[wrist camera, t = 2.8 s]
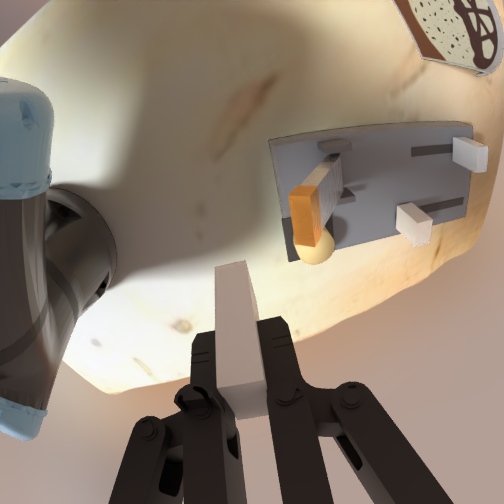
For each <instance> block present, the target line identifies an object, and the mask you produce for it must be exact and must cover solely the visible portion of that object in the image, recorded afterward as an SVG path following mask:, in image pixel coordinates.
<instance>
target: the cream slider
mask: <svg viewBox="0 0 504 504" xmlns="http://www.w3.org/2000/svg"><path fill="white" fill-rule="evenodd" d="M432 222H433V219H432V218H431V217H429V216H428V215H427V214H426V213H424V212H423V211H422V210H421V209H419V208H418V207H417V206H416V205H414V204H413V203H407V204H402V205H397V218H396V229H397V230H398V231H399V232H400V233H401V234H402V235H403V236H404V237H405V238H406V239H407V240H408V241H409V242H410V243H411V244H412V245H413V246H414V247H418V246H422V245H425V244H428V243H430V236H431V229H432Z"/></svg>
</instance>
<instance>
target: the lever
mask: <svg viewBox="0 0 504 504" xmlns="http://www.w3.org/2000/svg"><path fill="white" fill-rule="evenodd" d="M343 191H344V188H343V175H342V163H341V153H340V152H339V153H333V154H329V155H326V157H325V158H324V159H323V160H322V161H321V162H320V163H319V164H318V166H317V167H316V168H315V169H314V170H313V171H312V172H311V174H310V175H309V176H308V177H307V178H306V179H305V180H304V181H303V183H302V184H301V185H297V186H296V187H295V188H294V189H293V190H292V192H291V193H290V194H289V195H288V199H289V205H290V212H291V218H292V225H293V232H294V239H295V245H301V246H309V247H316V245H317V243H318V241H319V239H320V238H321V236H322V230H323V228H324V226H325V225H326V223H327V221H328V219H329V217H330V215H331V214H332V212H333V210H334V208H335V206H336V204H337V203H338V201H339V199H340V197H341V195H342V193H343Z"/></svg>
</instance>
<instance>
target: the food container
mask: <svg viewBox="0 0 504 504" xmlns="http://www.w3.org/2000/svg"><path fill="white" fill-rule="evenodd" d="M392 1H393V3H394V5H395V7H396V8H397V10H398V12H399V14H400V15H401V17H402V19H403V21H404V23H405V25H406V27H407V29H408V31H409V33H410V35H411V37H412V39H413V41H414V43H415V45H416V47H417V49H418V52H419V54H420V56H421V58H422V59H427V60H433V61H438V62H443V63H448V64H452V65H457V66H461V67H465V68H469V69H473V70H476V71H480V73H478V74H476V77H477V76H486V75H488V74H491V73H492V72H494V71H495V70H496V69H497V68H498V66H499V65H500V63H501V60H502V57H503V53H504V31H503V26H502V22H501V19H500V16H499V13H498V10H497V8H496V6H495V4H494V2H493V0H392Z"/></svg>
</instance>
